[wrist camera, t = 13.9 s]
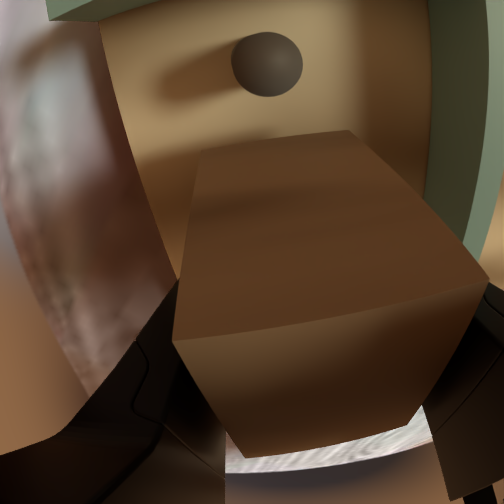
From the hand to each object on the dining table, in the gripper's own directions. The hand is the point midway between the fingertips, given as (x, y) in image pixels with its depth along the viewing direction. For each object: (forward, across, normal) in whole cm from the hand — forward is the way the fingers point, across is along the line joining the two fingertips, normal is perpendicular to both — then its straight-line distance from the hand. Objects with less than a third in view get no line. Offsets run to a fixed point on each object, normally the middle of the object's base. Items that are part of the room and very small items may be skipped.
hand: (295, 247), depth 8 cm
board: (+5, -6, 0) cm, 7 cm away
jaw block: (+2, 0, 0) cm, 2 cm away
